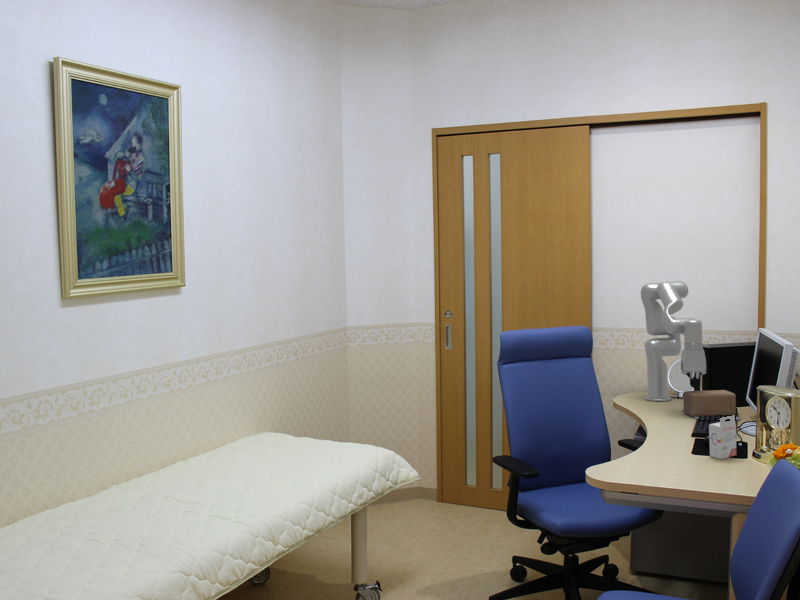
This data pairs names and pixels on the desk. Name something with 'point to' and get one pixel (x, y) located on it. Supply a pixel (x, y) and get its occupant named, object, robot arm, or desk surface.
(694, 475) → the desk surface
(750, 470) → the desk surface
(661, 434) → the desk surface
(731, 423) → the ink cartridge box
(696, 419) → the mat
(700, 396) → the wooden block
